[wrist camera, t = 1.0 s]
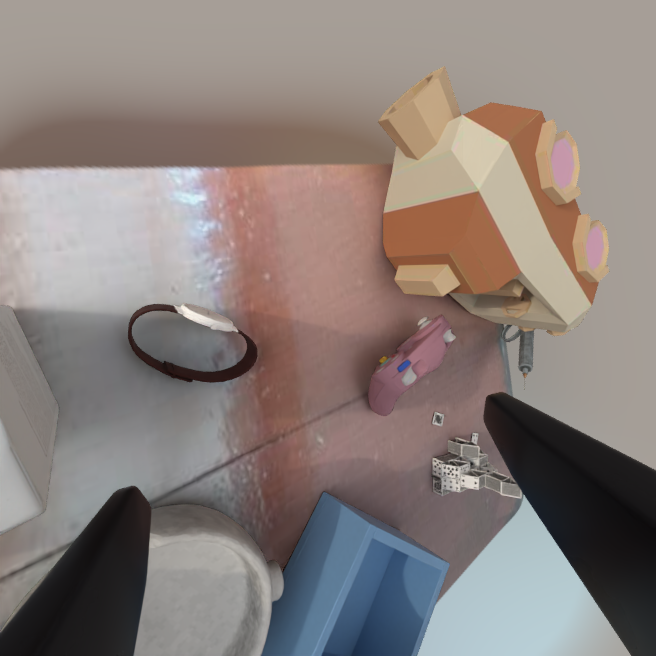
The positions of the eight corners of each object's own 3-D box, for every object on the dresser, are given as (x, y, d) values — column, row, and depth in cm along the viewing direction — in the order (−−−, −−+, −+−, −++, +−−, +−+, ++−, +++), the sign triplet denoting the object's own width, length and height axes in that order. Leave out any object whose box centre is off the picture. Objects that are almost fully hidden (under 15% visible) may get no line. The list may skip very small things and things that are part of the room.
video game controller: (406, 326, 37) (449, 297, 31) (435, 359, 37) (483, 337, 31) (343, 383, 33) (379, 362, 26) (375, 422, 32) (419, 410, 26)
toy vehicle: (514, 290, 45) (451, 383, 42) (400, 84, 33) (297, 192, 29) (636, 296, 34) (564, 422, 31) (534, -7, 22) (395, 146, 19)
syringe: (551, 370, 33) (565, 379, 33) (549, 261, 44) (560, 269, 44) (489, 398, 39) (501, 406, 39) (501, 296, 50) (511, 303, 50)
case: (323, 490, 30) (370, 523, 25) (399, 530, 35) (450, 563, 31) (247, 643, 26) (286, 716, 21) (346, 660, 32) (394, 720, 27)
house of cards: (478, 400, 43) (547, 415, 37) (477, 471, 43) (545, 497, 37) (431, 412, 38) (502, 431, 32) (430, 492, 38) (500, 527, 32)
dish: (-104, 720, 16) (-162, 858, 12) (130, 450, 21) (144, 482, 17) (157, 756, 23) (177, 852, 19) (287, 544, 28) (324, 583, 24)
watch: (253, 325, 26) (276, 327, 23) (233, 389, 25) (255, 399, 22) (138, 286, 21) (149, 281, 18) (110, 362, 20) (117, 370, 17)
